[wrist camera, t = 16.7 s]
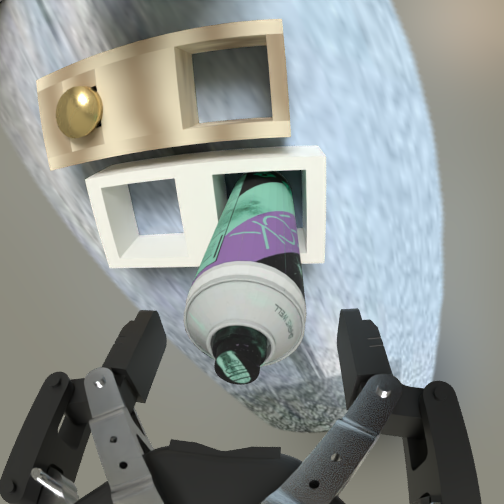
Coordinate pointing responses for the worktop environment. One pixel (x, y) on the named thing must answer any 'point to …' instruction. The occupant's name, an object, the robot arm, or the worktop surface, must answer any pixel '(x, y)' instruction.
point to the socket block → (160, 94)
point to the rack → (200, 203)
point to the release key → (79, 111)
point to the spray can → (250, 282)
